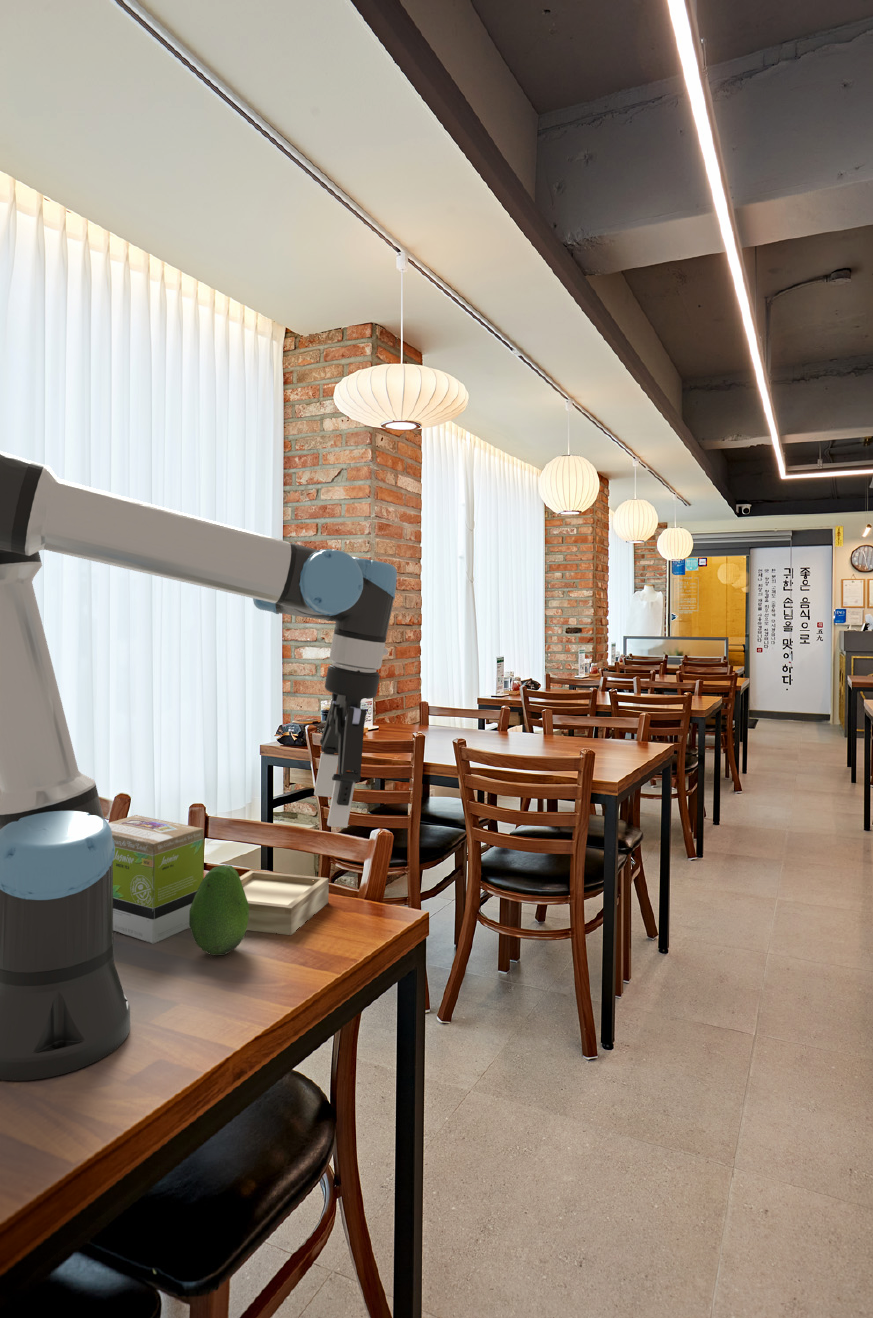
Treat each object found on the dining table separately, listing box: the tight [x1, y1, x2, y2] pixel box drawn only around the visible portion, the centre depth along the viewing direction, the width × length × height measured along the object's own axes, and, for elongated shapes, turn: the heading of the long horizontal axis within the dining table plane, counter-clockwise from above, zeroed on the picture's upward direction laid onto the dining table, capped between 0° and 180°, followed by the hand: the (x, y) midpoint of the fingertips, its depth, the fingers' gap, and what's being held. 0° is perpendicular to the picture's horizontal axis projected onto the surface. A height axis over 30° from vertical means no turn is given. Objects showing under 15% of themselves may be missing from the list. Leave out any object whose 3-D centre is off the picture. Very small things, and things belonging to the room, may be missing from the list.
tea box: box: [107, 814, 205, 945], centre depth 114 cm, size 15×10×15 cm
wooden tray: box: [239, 869, 330, 936], centre depth 119 cm, size 14×14×4 cm
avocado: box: [189, 864, 249, 956], centre depth 104 cm, size 8×8×12 cm
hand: (329, 810), depth 111 cm, fingers open, 13 cm apart
